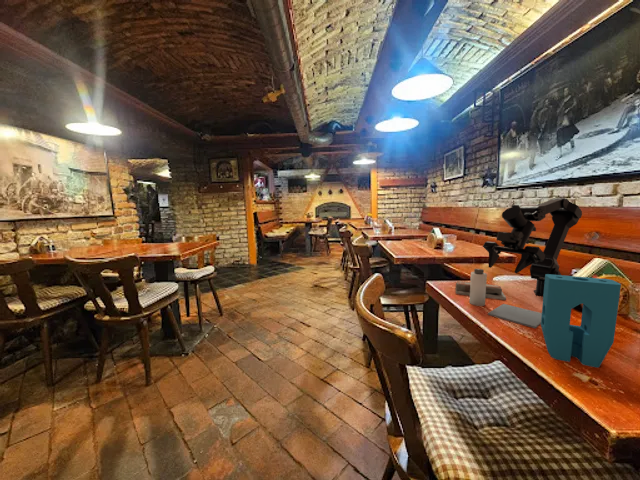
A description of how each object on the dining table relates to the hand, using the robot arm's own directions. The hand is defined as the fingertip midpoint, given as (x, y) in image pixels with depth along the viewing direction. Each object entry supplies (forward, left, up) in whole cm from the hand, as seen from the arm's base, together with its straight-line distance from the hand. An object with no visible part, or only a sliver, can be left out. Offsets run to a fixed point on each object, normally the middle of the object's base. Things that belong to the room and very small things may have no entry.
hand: (501, 269), depth 93 cm
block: (+31, +14, -14) cm, 37 cm away
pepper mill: (+1, -7, -14) cm, 16 cm away
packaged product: (-12, -7, -15) cm, 20 cm away
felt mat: (+7, +5, -14) cm, 16 cm away
